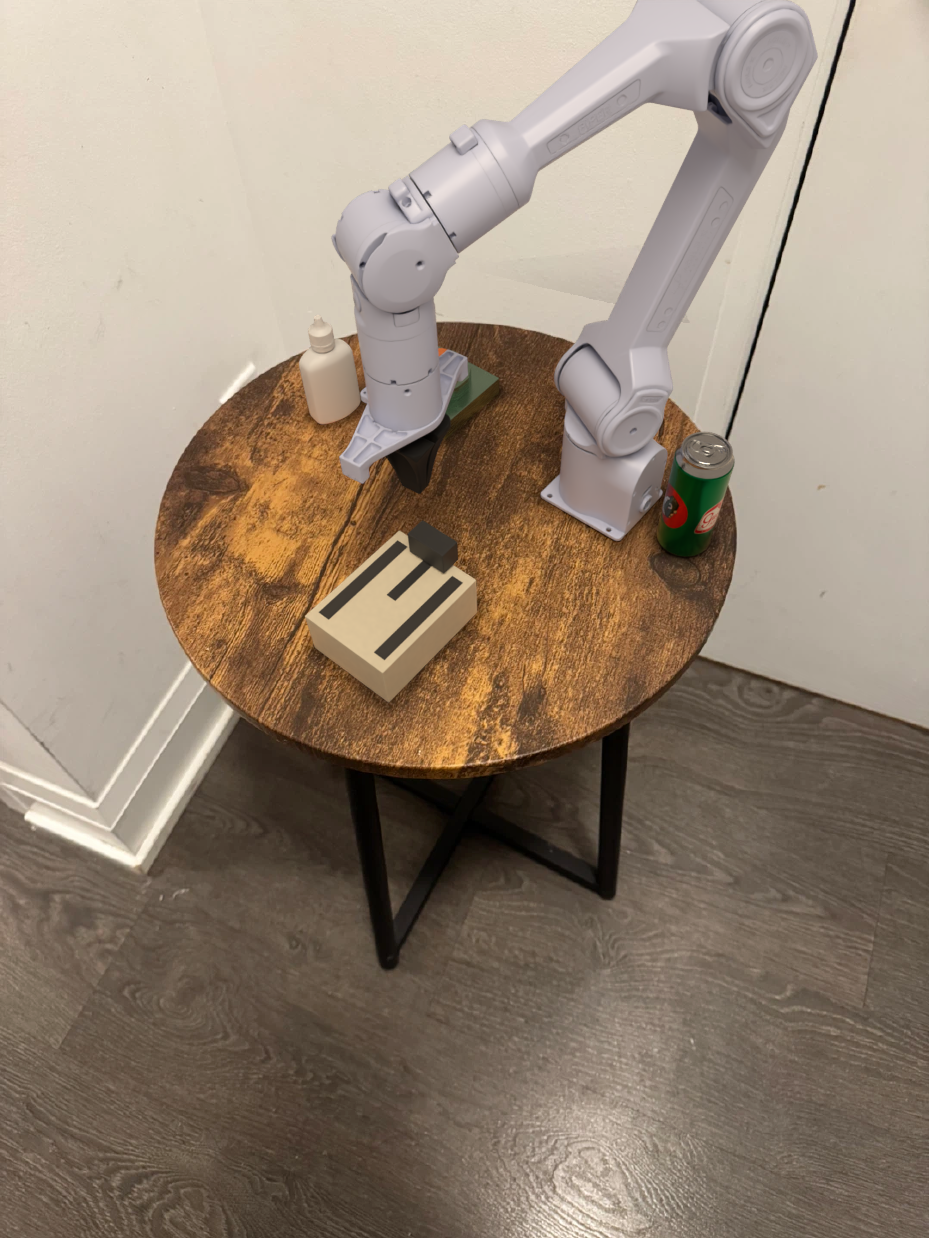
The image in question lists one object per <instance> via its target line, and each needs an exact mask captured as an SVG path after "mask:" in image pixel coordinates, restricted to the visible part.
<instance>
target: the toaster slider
mask: <svg viewBox="0 0 929 1238" xmlns="http://www.w3.org/2000/svg"><path fill="white" fill-rule="evenodd" d="M407 536H408V542H409V549H410V552H411V553H413V554H414V555H416V556H417V557H419V558H420V559H422V560H424V561H425V562H427V563H428V564H430V565H431V566H433V567H434V568H436V569H437V570H439V571H440V572H442V573H445V572H446V571H447V570H448V569H449V568H450V567H451V566H452V565H455V564H456V563H457V562H458V561H459V550H458V549H459V548H458V542H457V540H455V539H453V538H452V537H450V536H449V535H447V534H445V533H444V532H442V531H441V530H439V529H438V528H436V527H435V526H433V525H431V524H429V523H428V522H426V521H425V520H423V519H422V520H421V521H420V522H418V523H417V524H416V525H415V526H414V527H413V528H412V529H411V530H410V531H409V532H408V533H407Z"/></svg>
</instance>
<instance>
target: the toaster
mask: <svg viewBox="0 0 929 1238" xmlns="http://www.w3.org/2000/svg"><path fill="white" fill-rule="evenodd" d="M477 592H478V590H477V579H475V578H474V577H473V576H471V575H469V574H468V573H467V572H465V571H464V570H462V569H460V568H458V567H457V566H455V564H453V565H452V566H451V567H450V568H449V569H448V570H447V571H446V572H445V573H442V572H440V571H439V570H437V569H436V568H434V567H433V566H431V565H430V564H428V563H427V562H425V561H424V560H422V559H420V558H419V557H417V556H416V555H414V554H413V553H411V552H410V549H409V542H408V534H405V532H403V531H401V530H398V531H397V532H395V533H394V534H393V536H391V537H390V538H389V539H388V540H386V542H384V544H382V545H381V546H380V547H379V548H378V549H377V550H376V551H375V552H374V553H372V554H371V555H370V556H369V557H368V558H367V559H366V560H365V561H364V562H363V563H362V564H361V565H359V566H358V567H357V568H355V570H354V571H353V572H351V574H349V575H348V576H347V577H346V578H345V579H344V580H343V581H342V582H341V583H339V584H338V585H337V586H336V587H335V588H334V589H333V590H332V591H330V592H329V593H328V594H327V595H326V596H325V597H324V598H323V599H322V600H321V601H320V602H319V603H318V604H316V605H315V606H314V607H313V608H312V609H311V610H310V611H308V613H306V614H305V615H304V618H305V621H306V624H307V628H308V631H309V634H310V637H311V640H312V643H313V646H314V648H315V649H316V650H317V651H318V652H320V653H321V654H323V655H324V656H325V657H327V658H328V659H330V660H331V661H332V662H334V663H335V664H336V665H337V666H339V667H340V668H341V669H343V670H344V671H345V672H347V673H348V674H350V675H351V676H352V677H353V678H355V679H356V680H357V681H359V682H360V683H361V684H363V685H364V686H365V687H367V688H368V689H369V690H371V691H372V692H373V693H374V694H376V695H378V696H379V697H380V698H382V699H383V700H384V701H386V702H387V703H390V702H391V701H392V700H393V699H394V698H395V697H396V696H397V695H398V694H399V693H400V692H401V691H402V690H403V689H404V688H405V687H406V686H407V685H408V684H409V683H410V681H412V680H413V679H414V678H415V677H416V676H417V675H418V674H419V672H421V670H423V668H424V667H425V666H426V665H428V664H429V663H430V662H431V660H432V659H433V658H434V657H435V656H437V654H438V653H439V652H440V651H441V650H442V649H443V648H444V647H445V646H446V645H447V644H448V643H449V642H450V641H451V640H453V638H454V637H455V636H456V635H457V634H458V633H459V632H460V631H461V630H462V629H463V628H464V627H465V626H466V625H467V624H468V623H469V622H470V620H472V618H474V616H475V615H476V614H477V613H478V593H477Z"/></svg>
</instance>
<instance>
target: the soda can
mask: <svg viewBox="0 0 929 1238" xmlns="http://www.w3.org/2000/svg"><path fill="white" fill-rule="evenodd" d="M735 462H736V461H735V456H734V450H733V447H732V444H731V443H730V442H729V441H728V439H726V437H723V436H722V435H720V434H718V433H715V432H711V431H697V432H694V433H691V434H689V435H688V436H686V437H684V439H683V441H682V442H681V443H680V444H679V445H678V446H677V447H676V449H675V451H674V455H673V459H672V464H671V468H670V472H669V478H668V481H667V485H666V488H665V489H666V490H665V494H664V498H663V502H662V507H661V511H660V515H659V520H658V525H657V528H656V539H657V541H658V543H659V544H660V546H661V547H662V548H663V549H664V550H665V551H666V552H668V553H670V554H672V555H675V556H678V557H683V558H685V557H694V556H697V555H700V554H701V553H703V552H704V551H706V550H707V549H708V547H709V546H710V544H711V541H712V537H713V534H714V531H715V528H716V525H717V521H718V518H719V515H720V512H721V509H722V505H723V502H724V500H725V496H726V493H727V489H728V487H729V483H730V480H731V476H732V473H733V471H734V467H735V464H736V463H735Z"/></svg>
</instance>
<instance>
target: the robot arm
mask: <svg viewBox="0 0 929 1238" xmlns="http://www.w3.org/2000/svg"><path fill="white" fill-rule="evenodd" d="M815 42H816V41H815V38H814V33H813V28H812V26H811V22H810V19H809V16H808V14H807V12H806V11H805V10H804V9H803V8H802V6H801V5H798V4H797V3H795V2H794V1H792V0H636V2H635V4H634V6H633V8H632V10H631V12H630V14H629V15H628V17H627V18H626V19H625V20H624V21H623V22H622V23H621V24H620V25H619V26H618V27H616V28H615V29H614V30H613V31H612V32H611V33H610V34H609V35H607V36H606V37H605V38H604V39H602V40H601V41H600V42H599V43H598V44H597V45H596V46H595V47H594V48H592V49H591V50H590V51H589V52H588V53H587V54H586V55H584V56H583V57H582V58H581V59H580V60H578V61H577V62H576V63H575V64H574V65H573V66H572V67H570V68H569V69H568V70H567V71H566V72H565V73H564V74H563V75H561V76H560V77H559V78H558V79H557V80H556V81H554V82H553V83H552V84H551V85H550V86H549V87H547V88H546V90H544V91H543V92H542V93H541V94H540V95H538V97H536V98H535V99H534V100H533V101H531V103H529V104H528V105H527V106H526V107H525V108H524V109H522V110H521V111H520V112H519V113H518V114H517V115H516V116H515V117H513V118H512V119H511V120H509V121H502V120H494V119H487V118H481V119H479V120H477V121H476V122H475V123H473V124H472V125H471V126H470V127H469V126H468V125H467V124H462V125H460V126H459V127H458V128H457V129H455V130H454V131H453V132H452V133H451V132H450V134H449V135H448V138H449V141H450V142H448V143H447V144H446V145H445V146H443V147H442V148H441V149H439V150H437V152H435V153H434V154H433V155H431V156H430V157H429V158H428V159H426V160H425V161H424V162H422V163H421V164H420V165H418V166H417V167H416V168H415V169H413V170H412V171H410V172H409V173H408V174H407V175H405V177H403V178H401V177H399V178H397V179H396V180H394V181H393V182H391V183H390V184H389V185H388V187H387V188H385V189H384V188H378V189H377V190H372V189H371V190H368V191H365V192H363V193H361V194H359V195H357V196H356V197H354V198H353V199H352V200H351V201H349V203H348V204H347V205H346V206H345V208H344V209H343V210H342V211H341V216H340V218H339V219H337V224H336V227H335V233H333V234H332V235H331V236H330V237H331V238H330V239H331V242H332V246H333V248H334V250H335V252H336V253H337V255H338V257H339V258H340V259H341V260H342V261H343V262H344V263H345V264H346V266H347V268H348V270H349V271H350V275H349V278H350V285H351V291H352V300H353V303H354V304H353V305H354V307H353V314H354V320H355V321H354V322H355V328H356V335H357V339H358V346H359V352H360V358H361V365H362V370H363V376H364V383H365V387H364V388H363V389H362V390H361V391H359V392H360V399H361V402H362V403H365V404H366V406H365V408H364V410H363V412H362V414H361V417H360V419H359V421H358V423H357V425H356V428H355V430H354V433H353V435H352V438H351V439H350V441H349V443H348V445H347V447H345V450H344V451H343V452H342V453H341V454H340V455H339V456H338V458H339V463H340V468H341V473H342V475H344V476H346V477H347V478H349V479H351V480H353V481H355V482H358V483H359V484H365V483H366V482H367V480H368V479H369V478H370V477H371V476H370V467H371V466H372V465H373V464H374V463H376V462H377V461H379V460H381V459H383V458H386V459H387V461H388V462H389V465H391V467H392V469H393V471H394V473H395V474H396V476H397V478H398V480H399V483H400V485H401V487H404V488H405V489H408V490H409V491H412V492H414V493H416V494H418V495H421V494H422V493H423V492H424V491H425V490H426V489H427V488H428V486H429V485H430V481H431V479H432V474H433V470H434V465H435V462H436V458H437V455H438V452H439V449H440V447H441V445H442V443H443V441H444V440H445V439H444V437H445V435H446V433H447V432H448V431H449V429H450V428H451V420H450V417H449V416H448V415H447V414H445V412H446V410H447V407H448V404H449V401H450V399H451V396H452V393H453V391H454V388H455V385H456V382H457V381H463V380H464V379H465V378H466V377H467V376H468V362H469V361H468V357H467V356H465V355H463V354H460V353H458V352H457V351H455V352H454V350H452V351H451V349H448V348H446V349H447V350H446V351H445V352H444V353H443V354H442V355H440V356H439V353H438V346H439V340H438V327H437V326H438V325H437V311H436V304H435V296H437V293H438V292H439V291H440V289H441V287H442V286H443V284H444V281H445V279H446V275H447V273H448V272H449V270H450V269H451V268H452V267H453V266H455V265H456V264H457V262H456V260H458V259H459V257H460V255H459V254H460V253H462V252H463V251H465V250H466V249H467V248H468V247H470V246H471V245H473V244H474V243H475V242H477V241H478V240H480V239H481V238H482V237H484V236H485V235H486V234H487V233H489V232H490V231H492V230H493V229H495V228H496V227H497V226H498V225H500V224H501V223H503V222H504V221H506V219H508V218H509V217H511V216H512V215H513V214H514V213H516V212H517V211H519V210H520V209H521V208H523V207H524V206H525V205H527V204H528V203H529V202H530V200H531V198H532V194H533V191H534V187H535V182H536V179H537V176H538V174H539V172H540V171H541V170H544V169H545V168H546V167H548V166H550V165H551V164H552V163H554V162H556V161H558V160H559V159H560V158H562V157H564V156H565V155H567V154H569V153H570V152H571V151H573V150H575V149H576V148H578V147H579V146H581V145H582V144H584V143H586V142H588V141H589V140H590V139H592V138H593V137H595V136H596V135H598V134H599V133H601V132H603V131H604V130H606V129H608V128H609V127H611V126H612V125H614V124H615V123H617V122H618V121H620V120H622V119H623V118H625V117H626V116H628V115H629V114H631V113H632V112H634V111H636V110H637V109H639V108H640V107H642V106H644V105H646V104H656V105H660V106H665V107H672V108H676V109H680V110H686V111H691V112H693V116H694V118H695V122H696V124H697V131H696V134H695V136H694V138H693V140H692V142H691V144H690V147H689V148H688V150H687V153H686V154H685V157H684V159H683V161H682V162H681V165H680V167H679V170H678V171H677V174H676V176H675V178H674V180H673V182H672V184H671V186H670V189H669V190H668V193H667V195H666V196H665V198H664V201H663V203H662V205H661V207H660V209H659V211H658V213H657V215H656V218H655V219H654V222H653V223H652V226H651V228H650V230H649V233H648V234H647V237H646V238H645V241H644V243H643V245H642V247H641V249H640V251H639V253H638V256H637V258H636V260H635V261H634V263H633V266H632V267H631V270H630V272H629V274H628V276H627V279H626V281H625V282H624V285H623V286H622V289H621V291H620V293H619V295H618V297H617V300H616V302H615V303H614V306H613V308H612V310H611V312H610V313H609V316H608V318H607V319H605V320H597V321H593V322H589V323H587V324H585V325H583V327H582V330H581V332H580V333H579V336H578V337H577V339H576V341H575V342H574V343H573V344H572V346H571V347H569V348H568V350H567V351H566V352H565V353H564V354H563V355H562V357H561V358H560V359H559V361H558V363H557V365H556V367H555V370H554V374H553V381H554V386H555V389H557V391H558V392H559V393H560V394H561V395H562V396H563V397H564V410H565V415H564V423H563V435H562V446H561V459H560V469H559V470H560V471H559V474H558V475H557V476H556V477H555V478H554V479H553V480H552V481H551V482H549V483H548V485H546V487H544V489H542V490H541V492H540V498H541V499H542V500H544V501H545V502H547V503H549V504H551V505H553V506H554V507H556V508H558V509H559V510H561V511H563V512H564V513H566V514H568V515H569V516H571V517H573V518H575V519H577V520H578V521H580V522H582V523H584V524H585V525H587V526H589V527H591V528H592V529H594V530H596V531H598V532H599V533H601V534H602V535H604V536H606V537H608V538H609V539H611V540H612V541H615V542H619V541H621V540H622V539H624V538H625V537H626V535H628V533H630V531H631V530H632V529H633V527H635V526H636V524H637V523H638V522H639V521H640V520H641V519H642V518H643V517H644V516H645V515H646V514H647V512H649V510H650V509H651V508H652V507H653V506H654V505H655V504H656V503H657V502H658V501H659V500H660V499H661V497H662V496H663V493H664V491H663V490H662V489H661V487H662V483H663V479H664V475H665V469H666V466H667V461H668V450H667V448H666V447H664V446H663V445H661V444H660V443H659V442H657V441H656V440H655V439H654V438H655V436H656V435H657V434H658V432H659V430H660V429H661V426H662V424H663V421H664V417H665V408H666V404H667V402H668V400H669V398H670V396H671V394H672V393H673V391H674V384H673V383H674V382H673V377H672V370H671V366H670V360H669V354H668V353H669V352H668V347H669V345H670V343H671V342H672V340H673V338H674V336H675V334H676V332H677V330H678V328H680V327H679V326H680V325H681V323H682V321H683V320H684V318H685V315H686V314H687V312H688V310H689V308H690V307H691V305H692V303H693V301H694V299H695V298H696V295H697V293H698V292H699V290H700V289H701V286H702V285H703V283H704V281H705V280H706V278H707V275H708V273H709V272H710V270H711V268H712V266H713V264H714V263H715V260H716V259H717V257H718V255H719V253H720V252H721V249H723V246H724V245H725V242H726V240H727V239H728V237H729V235H730V233H731V231H732V230H733V227H734V225H735V224H736V222H737V220H738V218H739V217H740V214H741V213H742V211H743V209H744V207H745V206H746V203H747V201H748V200H749V198H750V196H751V195H752V193H753V190H754V189H755V187H756V185H757V183H758V181H759V180H760V178H761V176H762V174H763V173H764V170H765V168H767V167H766V166H767V165H768V164H769V161H770V160H771V157H772V155H773V153H774V152H775V151H776V148H777V146H778V145H779V143H780V141H781V139H782V137H783V135H784V133H785V130H786V128H787V124H788V120H789V116H790V111H791V109H792V107H793V105H794V103H795V101H796V99H797V98H798V95H799V93H800V92H801V90H802V88H803V86H804V84H805V83H806V80H807V79H808V77H809V75H810V73H811V71H812V70H813V67H814V66H815V64H816V62H817V60H818V58H819V55H818V50H817V46H816V43H815ZM456 352H457V353H456Z"/></svg>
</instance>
